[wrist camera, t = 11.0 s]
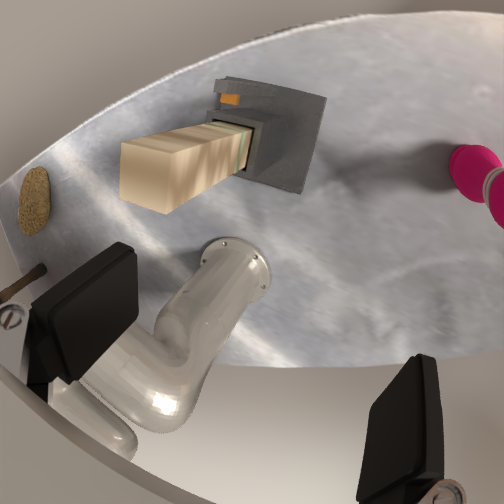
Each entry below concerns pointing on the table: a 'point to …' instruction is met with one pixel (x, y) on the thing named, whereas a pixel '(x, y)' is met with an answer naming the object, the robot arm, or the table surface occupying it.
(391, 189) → the table surface
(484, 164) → the pepper mill
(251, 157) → the grey socket stand
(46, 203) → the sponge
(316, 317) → the table surface
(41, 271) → the stick grenade
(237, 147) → the post
